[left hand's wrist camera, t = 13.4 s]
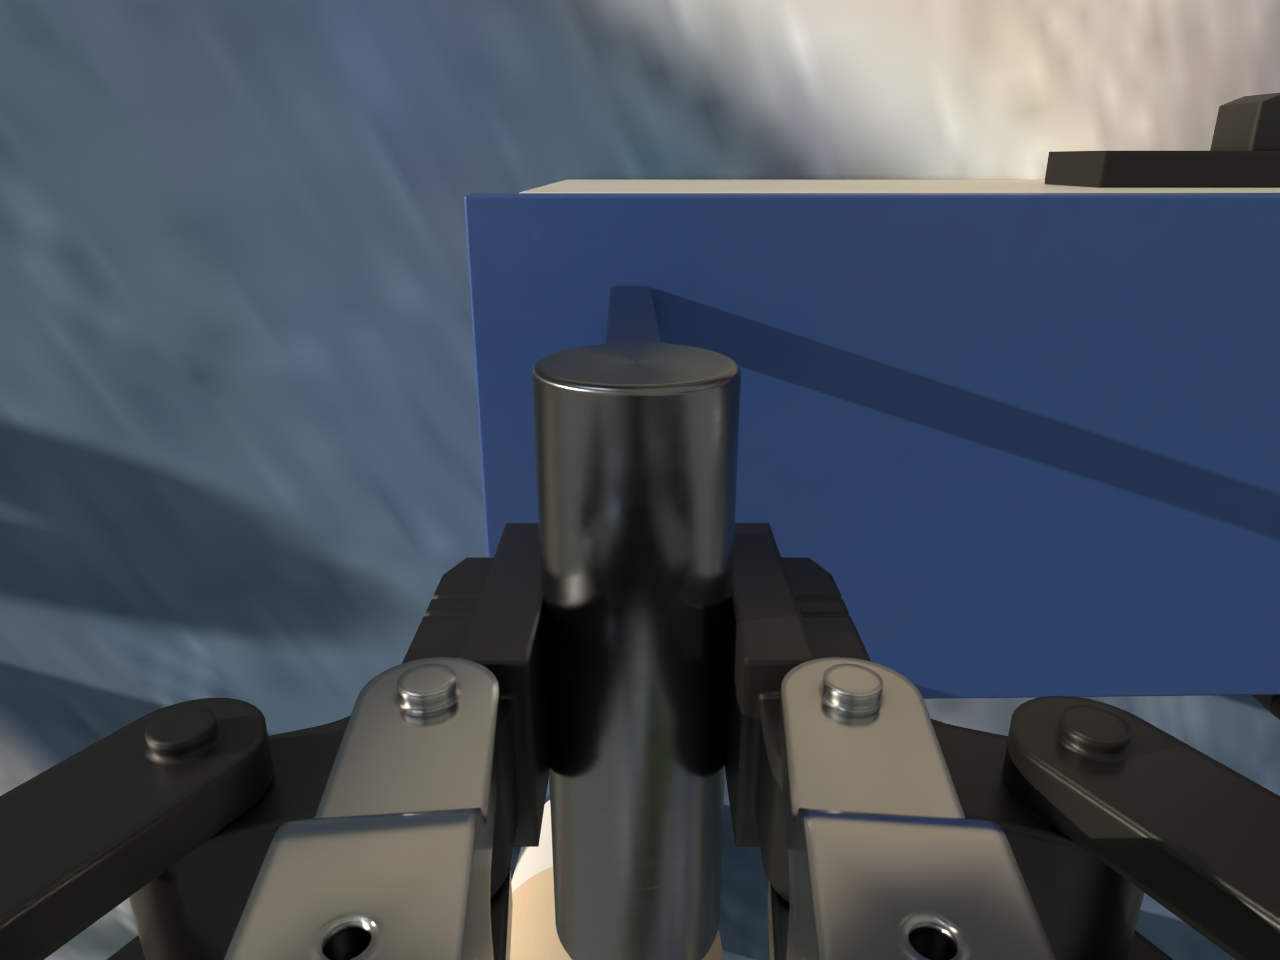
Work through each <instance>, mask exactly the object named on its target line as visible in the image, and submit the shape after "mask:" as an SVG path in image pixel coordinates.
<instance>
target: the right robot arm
mask: <svg viewBox="0 0 1280 960" xmlns="http://www.w3.org/2000/svg"><path fill="white" fill-rule="evenodd" d="M1045 184H1048V185H1063V186H1079V187H1094V188H1280V93H1274V94H1264V95H1254V96H1245V97H1242V98H1239V99H1237V100H1234V101H1232V102H1229V103H1227V104H1224V105H1222V106H1220V107H1219V112H1218V117H1217V121H1216V126H1215V131H1214V136H1213V141H1212V145H1211V150H1210V151H1071V152H1049V157H1048V164H1047V170H1046V177H1045ZM1252 696H1253V697H1254V698H1255V699H1256V700H1257V701H1259V702H1260V703H1261V704H1262V705H1263V706H1264V707H1265V708H1266V709H1268V710H1269V711H1270V712H1271V713H1272V714H1273V715H1274V716H1275V717H1277V718H1278V719H1279V720H1280V694H1275V695H1252Z"/></svg>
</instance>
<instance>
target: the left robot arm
mask: <svg viewBox="0 0 1280 960" xmlns="http://www.w3.org/2000/svg"><path fill="white" fill-rule="evenodd" d="M549 771H550V755H549V731H548V708H547V684H546V660H545V637H544V613H543V597H542V593H541V575H540V551H539V528H538V523H507V524H506V525H505V528H504V531H503V534H502V536H501V539H500V542H499V545H498V547H497V550H496V553H495V556H494V558H466V559H464V560H463V561H462V562H460V563H459V564H458V565H456V566H455V567H453V568H452V569H451V570H449V571H448V572H447V573H445V574H444V575H443V576H442V579H441V581H440V583H439V585H438V587H437V589H436V591H435V594H434V599H432V600H431V602H430V604H429V607H428V609H427V611H426V617H423V619H422V622H421V624H420V626H419V628H418V630H417V632H416V634H415V637H414V639H413V641H412V643H411V645H410V647H409V649H408V652H407V654H406V656H405V658H404V660H403V662H402V664H400V665H397V666H395V667H392V668H390V669H388V670H386V671H384V672H382V673H380V674H379V675H377V676H376V677H374V678H373V679H372V680H371V681H369V682H368V683H367V684H366V685H365V686H364V688H363V689H362V690H361V691H360V693H359V695H358V697H357V700H356V702H355V705H354V708H353V711H352V714H351V716H349V717H346V718H344V719H341V720H338V721H335V722H332V723H329V724H325V725H321V726H317V727H312V728H307V729H302V730H297V731H292V732H287V733H282V734H277V735H272V736H268V734H267V728H266V723H265V717H264V716H263V714H262V712H261V711H260V710H259V709H258V708H257V707H255V706H253V705H252V704H250V703H248V702H244V701H241V700H237V699H230V698H205V699H197V700H191V701H186V702H182V703H178V704H174V705H171V706H168V707H165V708H162V709H159V710H157V711H154V712H152V713H149V714H147V715H145V716H143V717H141V718H139V719H138V720H136V721H134V722H132V723H130V724H128V725H127V726H125V727H123V728H121V729H120V730H118V731H116V732H114V733H112V734H111V735H109V736H107V737H105V738H103V739H102V740H100V741H98V742H96V743H95V744H93V745H91V746H89V747H87V748H86V749H84V750H82V751H80V752H78V753H77V754H75V755H73V756H71V757H70V758H68V759H66V760H64V761H62V762H61V763H59V764H57V765H55V766H53V767H52V768H50V769H48V770H46V771H45V772H43V773H41V774H39V775H37V776H36V777H34V778H32V779H30V780H28V781H27V782H25V783H23V784H21V785H20V786H18V787H16V788H14V789H12V790H11V791H9V792H7V793H5V794H3V795H2V796H0V960H44V959H45V958H46V957H48V956H49V955H51V954H52V953H53V952H55V951H56V950H57V949H59V948H60V947H61V946H63V945H64V944H66V943H67V942H68V941H70V940H71V939H72V938H74V937H75V936H77V935H78V934H79V933H81V932H82V931H83V930H85V929H86V928H88V927H89V926H90V925H92V924H93V923H94V922H96V921H97V920H98V919H100V918H101V917H103V916H104V915H105V914H107V913H108V912H109V911H111V910H112V909H114V908H115V907H116V906H118V905H119V904H120V903H122V902H123V901H124V900H126V899H127V898H129V899H130V903H131V907H132V911H133V915H134V919H135V922H136V926H137V930H138V934H139V935H138V936H137V937H135V938H134V939H133V940H132V941H130V942H129V943H128V944H126V945H125V946H124V947H123V948H121V949H120V950H119V951H117V952H116V953H115V954H114V955H112V956H111V957H110V958H108V959H107V960H510V950H511V930H512V910H513V900H512V885H511V869H510V863H511V857H512V852H513V847H539V840H540V833H541V826H542V819H543V812H544V806H545V799H546V792H547V785H548V778H549ZM725 772H726V780H727V787H728V794H729V802H730V809H731V816H732V823H733V831H734V838H735V845H736V846H760V847H761V853H762V859H763V865H764V869H765V873H766V876H767V878H768V880H769V885H768V900H767V909H768V930H769V950H770V960H1173V959H1172V958H1170V957H1169V956H1168V955H1166V954H1165V953H1164V952H1163V951H1161V950H1160V949H1159V948H1157V947H1156V946H1155V945H1154V944H1152V943H1151V942H1150V941H1148V940H1147V939H1146V938H1145V937H1143V936H1142V935H1141V934H1139V933H1138V932H1137V931H1135V927H1136V923H1137V919H1138V915H1139V911H1140V907H1141V903H1142V899H1143V895H1144V892H1145V893H1146V894H1147V895H1149V896H1150V897H1151V898H1153V899H1154V900H1155V901H1157V902H1158V903H1160V904H1161V905H1162V906H1164V907H1165V908H1166V909H1168V910H1169V911H1171V912H1172V913H1173V914H1175V915H1176V916H1177V917H1179V918H1180V919H1182V920H1183V921H1184V922H1186V923H1187V924H1188V925H1190V926H1191V927H1192V928H1194V929H1195V930H1197V931H1198V932H1199V933H1201V934H1202V935H1203V936H1205V937H1206V938H1208V939H1209V940H1210V941H1212V942H1213V943H1214V944H1216V945H1217V946H1218V947H1220V948H1221V949H1223V950H1224V951H1225V952H1227V953H1228V954H1229V955H1231V956H1232V957H1234V958H1235V959H1236V960H1280V796H1278V795H1276V794H1275V793H1273V792H1271V791H1269V790H1268V789H1266V788H1264V787H1262V786H1260V785H1259V784H1257V783H1255V782H1253V781H1251V780H1250V779H1248V778H1246V777H1244V776H1243V775H1241V774H1239V773H1237V772H1235V771H1234V770H1232V769H1230V768H1228V767H1226V766H1225V765H1223V764H1221V763H1219V762H1218V761H1216V760H1214V759H1212V758H1210V757H1209V756H1207V755H1205V754H1203V753H1201V752H1200V751H1198V750H1196V749H1194V748H1193V747H1191V746H1189V745H1187V744H1185V743H1184V742H1182V741H1180V740H1178V739H1176V738H1175V737H1173V736H1171V735H1169V734H1168V733H1166V732H1164V731H1162V730H1160V729H1159V728H1157V727H1155V726H1153V725H1151V724H1150V723H1148V722H1146V721H1144V720H1143V719H1141V718H1139V717H1137V716H1135V715H1133V714H1131V713H1129V712H1127V711H1125V710H1122V709H1120V708H1117V707H1115V706H1112V705H1109V704H1105V703H1102V702H1099V701H1095V700H1090V699H1086V698H1079V697H1071V696H1047V697H1040V698H1036V699H1032V700H1029V701H1027V702H1025V703H1023V704H1021V705H1020V706H1019V707H1018V708H1017V709H1016V710H1015V711H1014V713H1013V715H1012V719H1011V724H1010V730H1009V736H1003V735H998V734H993V733H988V732H983V731H978V730H973V729H968V728H963V727H958V726H954V725H950V724H945V723H942V722H939V721H936V720H933V719H930V716H929V714H928V711H927V708H926V705H925V702H924V700H923V697H922V695H921V693H920V691H919V690H918V689H917V688H916V686H915V685H914V684H913V683H912V682H911V681H909V680H908V679H907V678H906V677H904V676H903V675H901V674H900V673H898V672H896V671H894V670H892V669H890V668H888V667H885V666H883V665H880V664H877V663H874V662H871V660H870V658H869V655H868V653H867V651H866V649H865V647H864V644H863V642H862V640H861V638H860V636H859V633H858V631H857V629H856V627H855V625H854V622H853V620H852V618H851V616H849V611H848V609H847V607H846V605H845V602H844V600H843V599H841V594H840V591H839V589H838V587H837V585H836V583H835V580H834V578H833V576H832V575H831V574H830V573H829V572H827V571H826V570H825V569H823V568H822V567H821V566H819V565H818V564H817V563H815V562H814V561H813V560H811V559H810V558H809V557H781V556H780V553H779V550H778V547H777V544H776V541H775V538H774V536H773V533H772V530H771V527H770V524H769V523H735V536H734V560H733V585H732V594H731V614H730V639H729V665H728V690H727V715H726V740H725Z"/></svg>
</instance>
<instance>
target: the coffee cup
mask: <svg viewBox="0 0 1280 960" xmlns="http://www.w3.org/2000/svg"><path fill="white" fill-rule="evenodd" d="M511 885H512V900H513V910H512V930H511V950H510V960H572V959H571V958H570V956H569V955H568V954H567V952H566V951H565V949H564V948H563V946H562V944H561V942H560V940H559V937H558V934H557V930H556V923H555V901H554V877H553V854H552V831H551V807H550V800H549V801H548V802H547V803H545V806H544V812H543V819H542V826H541V833H540V840H539V847H521V850H520V853H519V857H518V860H517V864H516V868H515V871H514V875H513V878H512V882H511ZM702 960H724V955H723V950H722V944H721V939H720V934H719V930H718V931H717V935H716V938H715V940H714V942H713V945H712V947H711V948H710V950H709V951H708V952H707V954H706V955H705V957H704V958H703V959H702Z"/></svg>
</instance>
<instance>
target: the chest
mask: <svg viewBox="0 0 1280 960" xmlns="http://www.w3.org/2000/svg"><path fill="white" fill-rule="evenodd" d="M521 193H1280V188H1094V187H1079V186H1063V185H1048V184H1045V180H564V181H561V182H557V183H553V184H550V185H546V186H542V187H538V188H535V189H531V190H527V191H524V192H521Z"/></svg>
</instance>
